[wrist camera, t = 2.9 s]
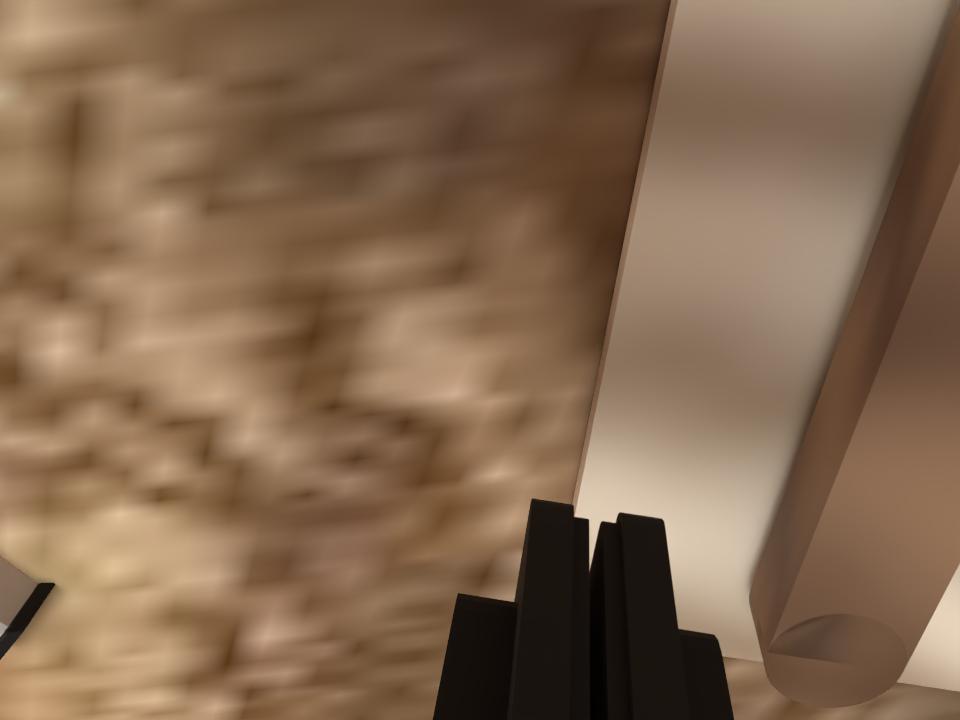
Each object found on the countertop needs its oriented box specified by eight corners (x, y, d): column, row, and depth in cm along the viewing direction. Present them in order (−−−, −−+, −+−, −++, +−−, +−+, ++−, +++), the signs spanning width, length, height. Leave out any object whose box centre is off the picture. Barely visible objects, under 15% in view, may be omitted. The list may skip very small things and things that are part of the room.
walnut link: (1025, -328, 12) (1105, -369, 10) (1351, -296, 11) (1490, -332, 10) (708, 626, 21) (719, 692, 19) (882, 652, 21) (910, 721, 19)
